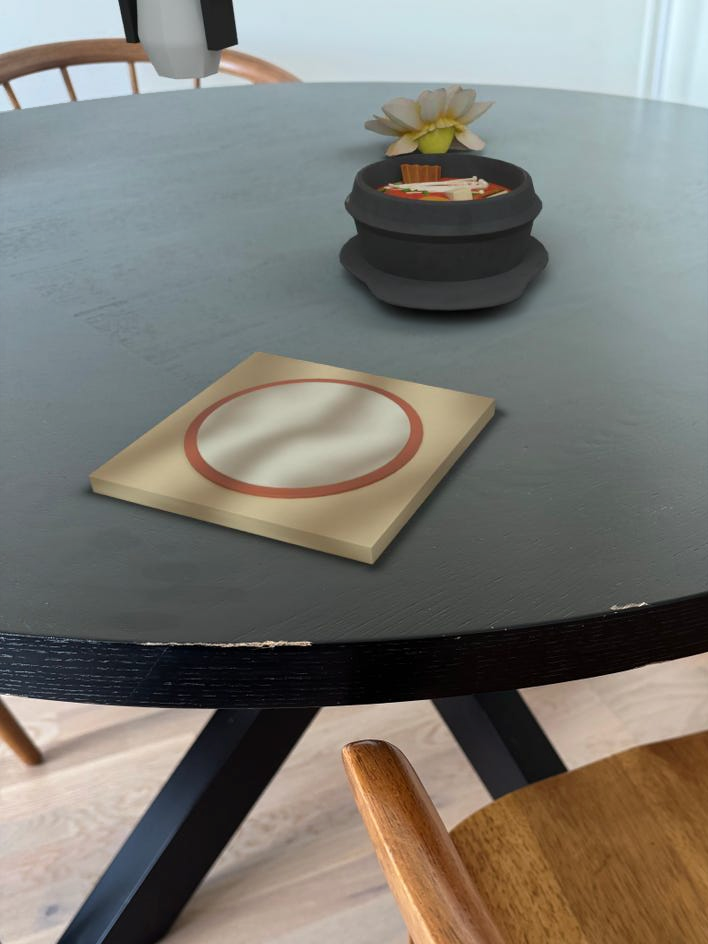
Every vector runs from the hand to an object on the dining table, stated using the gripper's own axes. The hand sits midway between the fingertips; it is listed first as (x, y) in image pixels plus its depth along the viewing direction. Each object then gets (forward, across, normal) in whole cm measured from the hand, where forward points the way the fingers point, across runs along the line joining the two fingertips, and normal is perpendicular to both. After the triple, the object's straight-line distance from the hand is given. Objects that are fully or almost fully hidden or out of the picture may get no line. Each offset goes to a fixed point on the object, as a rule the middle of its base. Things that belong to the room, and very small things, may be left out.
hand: (182, 42), depth 66 cm
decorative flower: (+19, +3, -51) cm, 54 cm away
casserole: (+19, -14, -14) cm, 28 cm away
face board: (+19, -17, +18) cm, 31 cm away
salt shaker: (+2, 0, 0) cm, 2 cm away
